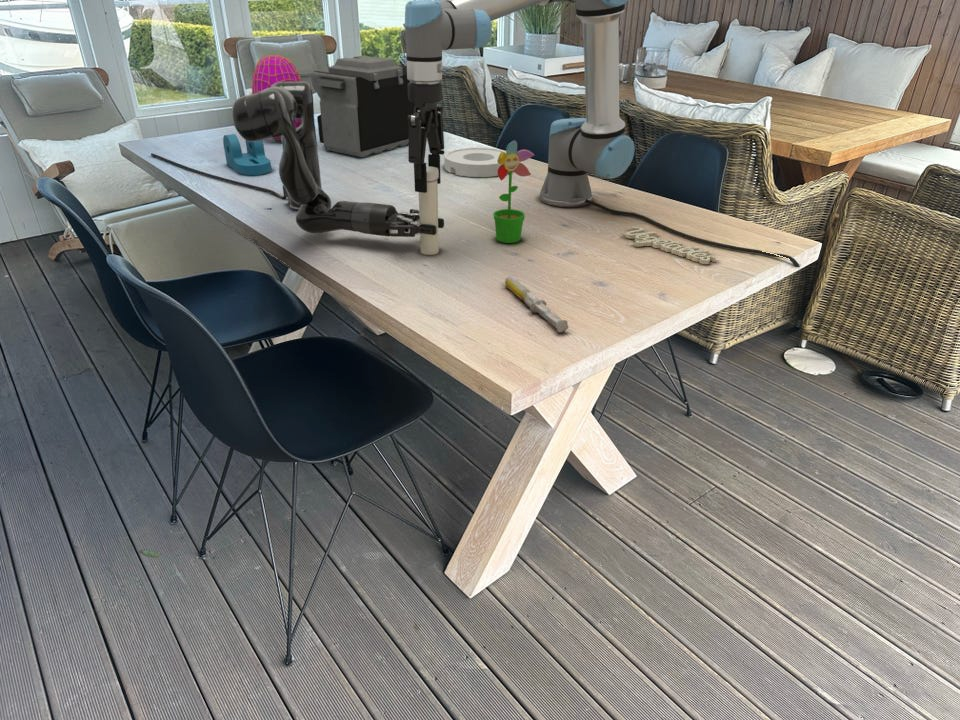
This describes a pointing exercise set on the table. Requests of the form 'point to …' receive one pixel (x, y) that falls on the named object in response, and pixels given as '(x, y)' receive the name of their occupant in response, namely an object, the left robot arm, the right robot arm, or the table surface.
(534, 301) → the syringe
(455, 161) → the white round base
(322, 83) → the portable cooler box
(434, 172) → the lid
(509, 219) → the potted flower
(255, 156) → the camera mount
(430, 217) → the beige long cylinder
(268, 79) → the decorative egg
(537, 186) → the table surface
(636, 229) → the decorative sign
